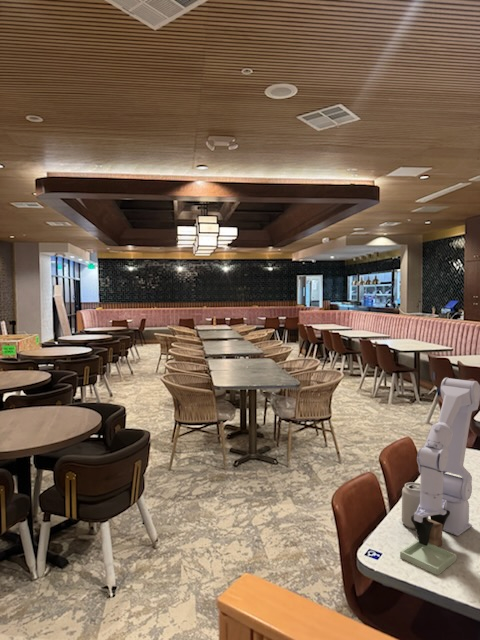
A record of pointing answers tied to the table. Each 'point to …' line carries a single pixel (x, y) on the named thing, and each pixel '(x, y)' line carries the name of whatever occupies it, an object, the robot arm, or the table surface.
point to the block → (435, 533)
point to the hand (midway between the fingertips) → (430, 539)
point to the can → (410, 502)
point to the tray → (428, 557)
